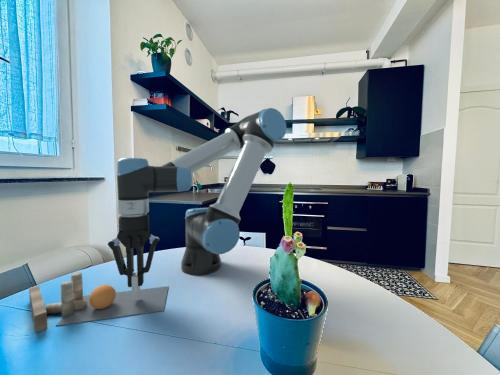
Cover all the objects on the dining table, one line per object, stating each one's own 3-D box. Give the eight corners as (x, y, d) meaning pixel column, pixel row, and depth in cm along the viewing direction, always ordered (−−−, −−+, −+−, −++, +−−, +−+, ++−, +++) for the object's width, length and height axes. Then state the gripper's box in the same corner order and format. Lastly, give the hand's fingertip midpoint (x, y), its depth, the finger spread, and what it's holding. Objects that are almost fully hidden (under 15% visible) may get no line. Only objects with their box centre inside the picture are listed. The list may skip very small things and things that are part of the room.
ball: (90, 284, 61) (97, 302, 63) (82, 298, 56) (90, 318, 57) (114, 277, 63) (120, 294, 65) (108, 290, 58) (116, 309, 59)
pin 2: (84, 301, 63) (83, 272, 63) (80, 306, 61) (79, 275, 60) (74, 302, 63) (73, 272, 62) (70, 307, 60) (69, 276, 60)
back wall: (29, 301, 63) (29, 287, 63) (39, 298, 64) (38, 285, 64) (35, 332, 51) (34, 315, 50) (47, 328, 52) (46, 311, 52)
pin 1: (76, 311, 58) (74, 280, 58) (71, 317, 56) (69, 284, 56) (65, 313, 58) (63, 281, 57) (60, 319, 55) (58, 286, 55)
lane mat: (168, 286, 72) (168, 286, 72) (163, 311, 59) (163, 310, 59) (81, 296, 65) (81, 296, 65) (55, 326, 53) (55, 325, 53)
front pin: (87, 297, 61) (49, 302, 59) (83, 302, 59) (43, 307, 56) (87, 305, 61) (50, 310, 59) (83, 311, 59) (44, 316, 57)
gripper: (102, 218, 56) (105, 308, 58) (157, 215, 60) (159, 301, 61) (112, 212, 64) (114, 292, 65) (161, 211, 67) (162, 287, 68)
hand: (136, 296), depth 63 cm, fingers closed
